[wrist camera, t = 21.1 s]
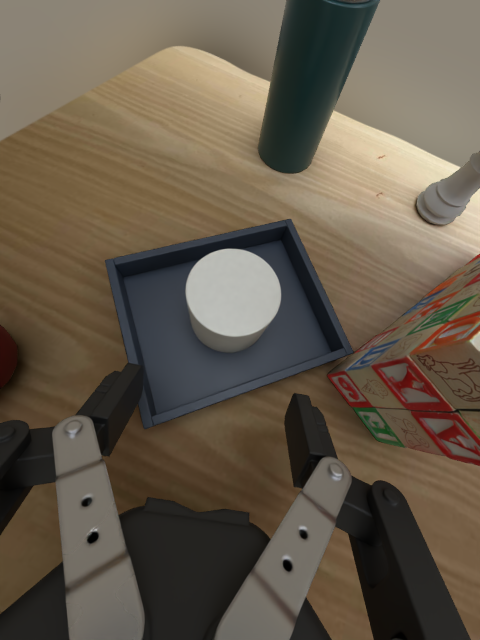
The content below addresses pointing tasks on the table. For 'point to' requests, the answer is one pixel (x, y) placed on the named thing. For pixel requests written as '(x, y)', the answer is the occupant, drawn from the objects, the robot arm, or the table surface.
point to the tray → (195, 357)
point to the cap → (231, 299)
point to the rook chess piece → (450, 194)
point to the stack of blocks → (423, 373)
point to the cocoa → (7, 356)
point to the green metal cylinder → (309, 76)
